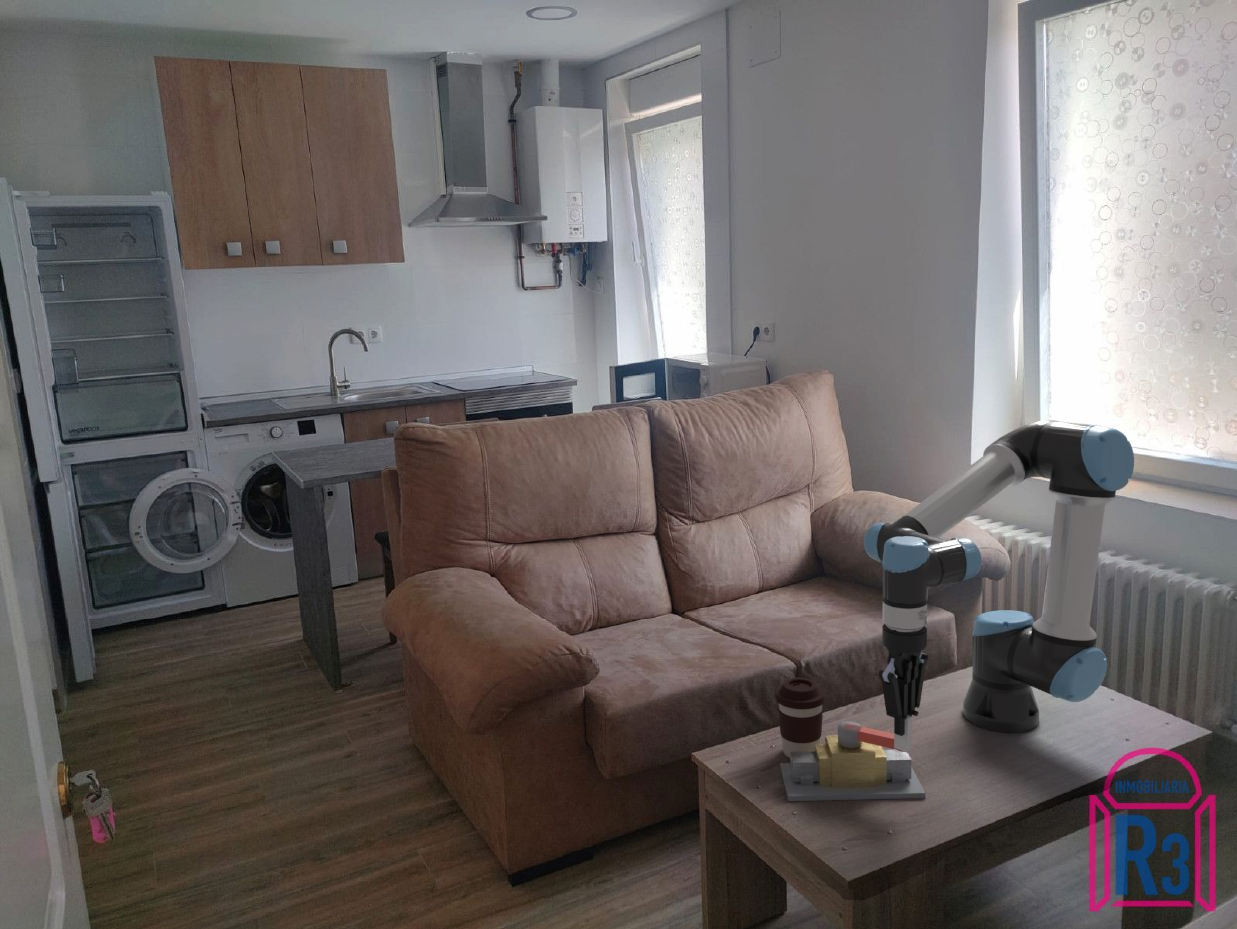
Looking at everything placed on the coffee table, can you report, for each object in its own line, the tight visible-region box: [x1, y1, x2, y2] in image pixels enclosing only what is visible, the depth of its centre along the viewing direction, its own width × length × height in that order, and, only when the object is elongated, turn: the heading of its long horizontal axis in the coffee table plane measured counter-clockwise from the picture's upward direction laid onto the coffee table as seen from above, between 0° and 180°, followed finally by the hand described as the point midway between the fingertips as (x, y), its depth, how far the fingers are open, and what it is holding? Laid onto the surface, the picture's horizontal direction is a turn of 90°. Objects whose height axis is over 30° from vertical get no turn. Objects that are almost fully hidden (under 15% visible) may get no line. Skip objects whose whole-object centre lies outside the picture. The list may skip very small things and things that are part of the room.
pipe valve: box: [789, 734, 912, 788], centre depth 176 cm, size 22×7×7 cm, turn 87°
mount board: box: [779, 762, 926, 802], centre depth 176 cm, size 25×12×1 cm, turn 87°
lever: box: [837, 720, 904, 752], centre depth 172 cm, size 14×4×6 cm, turn 57°
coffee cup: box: [774, 677, 826, 759], centre depth 187 cm, size 10×10×15 cm
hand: (902, 748), depth 167 cm, fingers closed
